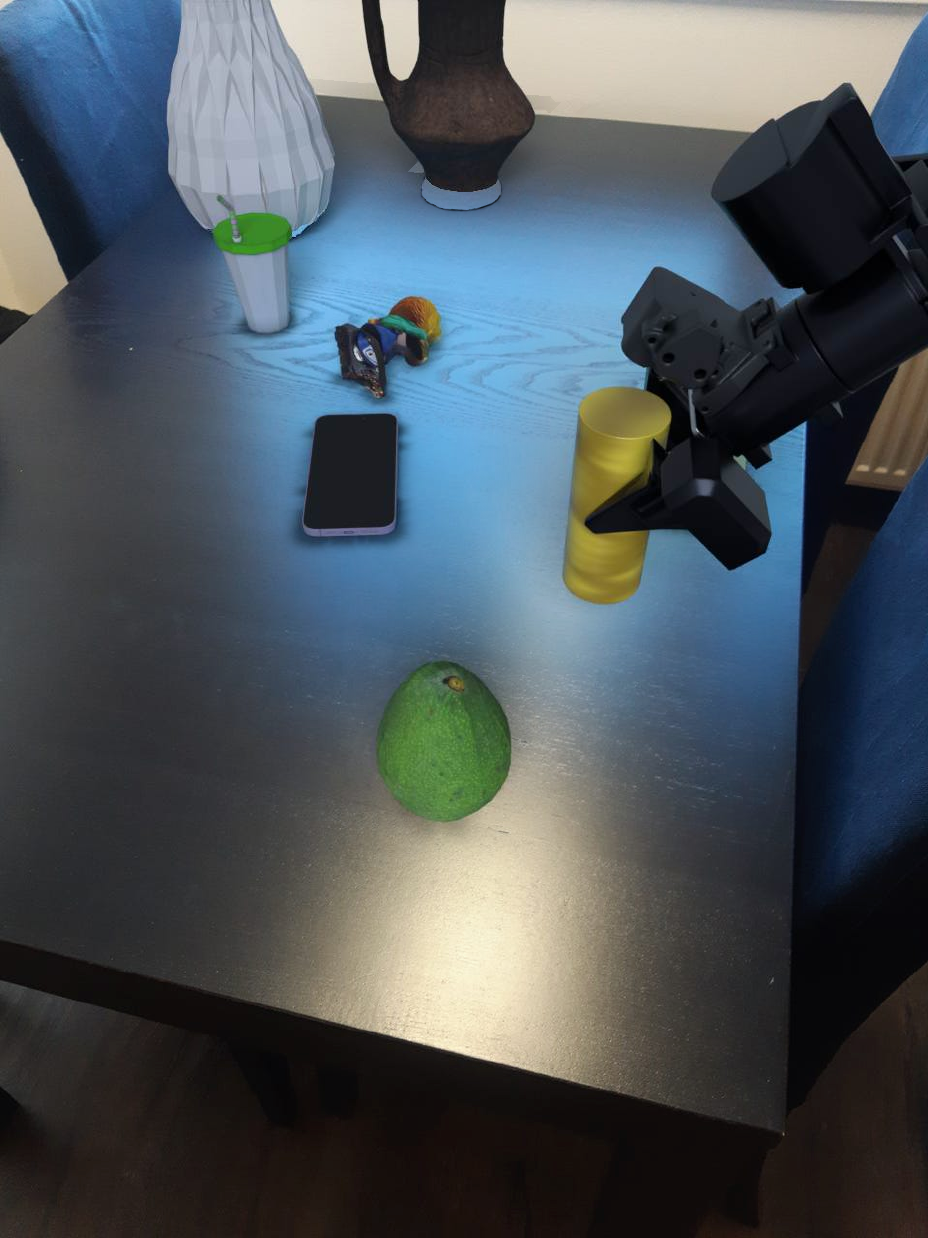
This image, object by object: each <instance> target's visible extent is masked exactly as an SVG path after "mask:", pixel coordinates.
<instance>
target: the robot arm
mask: <svg viewBox="0 0 928 1238" xmlns="http://www.w3.org/2000/svg"><path fill="white" fill-rule="evenodd" d="M715 177H716V178H715V179H714V181H713V183H712V187H711V192H710V195H711V198H712V200H713V201H714V202H715V203H716V206H718V208H719V209H720V210H721V211H722V213H723V214H724V215H725V217H726V218H727V219H728V220H729V222H730V223H731V224H732V226H733V227H734V228H735V230H736V231H737V232H738V233H739V234H740V236H741V237H742V239H743V240H744V241H745V243H746V244H747V245H748V246H749V248H750V250H751V251H752V252H753V253H754V254H755V256H756V257H757V258H758V259H759V261H760V262H761V264H762V265H763V266H764V267H765V269H766V270H767V271H768V272H769V274H770V275H771V276H772V278H773V279H774V280H775V282H776V283H777V284H778V285H779V286H780V287H781V288H784V289H787V290H793V289H795V290H796V289H802V290H803V293H801V294H800V295H798V296H797V297H796V298H794V299H792V300H791V301H789V302H788V303H786V304H785V305H784V306H783V307H781V306H780V305H779V303H778V302H777V301H776V299H775V298H774V297H773V296H770V297H769V298H767V299H765V298H760V299H757V300H756V301H755V302H754V303H752V304H751V305H749V306H748V307H746V308H744V309H742V310H741V311H740V310H739V309H737V308H736V307H734V306H733V305H730V304H729V303H728V302H726V301H724V299H722V298H721V297H720V296H718V295H717V294H715V293H713V292H712V291H709V290H708V289H705V288H704V287H702V286H700V285H698V284H697V283H694V282H692V281H690V280H689V279H688V278H685V277H683V276H681V275H679V274H677V273H676V272H673V271H672V270H670V269H668V268H665V267H662V266H658V265H657V266H654V267H653V268H652V270H651V271H650V272H649V274H648V275H647V278H646V279H645V280H644V281H643V283H642V284H641V286H640V288H639V289H638V291H637V292H636V294H635V296H634V297H633V298H632V300H631V302H630V303H629V305H628V306H627V308H626V309H625V311H624V312H623V314H622V316H621V317H620V323H621V325H622V339H621V341H620V348H621V351H622V353H623V355H624V356H625V357H626V358H627V359H628V360H630V362H632V363H634V364H635V365H637V366H639V367H641V368H644V369H646V370H645V376H644V384H643V389H642V390H645V391H648V392H650V393H653V394H655V395H656V396H658V397H660V398H661V399H662V400H663V401H664V402H665V403H666V404H667V405H668V407H669V408H670V411H671V416H672V417H671V423H670V428H669V434H668V439H667V444H666V450H665V449H664V448H663V447H662V446H661V445H660V444H659V443H658V442H657V441H656V440H655V439H654V438H653V439H652V441H651V444H650V449H649V455H648V460H647V465H646V468H645V470H644V471H643V472H641V473H640V474H639V475H638V476H636V477H635V478H634V479H633V480H631V481H630V482H629V483H628V484H626V485H625V486H624V487H622V488H621V489H620V490H619V491H617V492H616V493H615V494H614V495H612V496H611V497H610V498H609V499H607V500H606V501H605V502H604V503H602V504H601V505H600V506H599V507H598V508H596V509H595V510H594V511H593V512H592V513H591V514H590V515H589V516H588V517H587V518H586V519H585V521H584V525H585V526H586V527H587V528H588V529H589V530H590V531H591V532H592V533H594V534H605V533H618V532H632V531H646V530H650V531H661V530H663V531H664V530H665V531H666V530H673V531H675V530H677V531H680V530H681V531H688V532H689V533H690V534H691V535H692V536H693V537H694V538H695V539H696V540H697V541H698V542H699V543H700V544H701V545H702V546H703V547H704V548H705V549H706V550H707V551H708V552H709V553H710V554H711V555H712V556H713V557H714V558H715V559H716V560H717V561H718V562H719V563H720V564H721V565H722V566H723V567H724V568H725V569H726V570H727V571H728V572H730V571H731V572H732V571H734V570H736V569H738V568H740V567H742V566H744V565H747V564H748V563H749V562H751V561H754V560H756V559H757V558H759V557H761V556H764V554H767V551H768V547H769V545H770V541H771V538H772V535H773V532H772V528H771V526H772V525H771V520H770V515H769V508H768V502H767V497H766V493H765V490H764V489H763V488H762V487H761V486H760V485H759V484H758V483H757V482H756V480H754V478H753V477H752V476H751V475H750V473H748V472H747V471H745V470H744V469H743V468H742V467H741V465H740V464H739V463H738V462H737V461H736V460H735V459H734V456H735V457H737V458H738V457H739V456H741V455H743V456H744V457H745V458H746V461H747V462H748V463H749V464H750V465H751V467H753V468H754V469H755V470H756V471H757V470H759V469H760V468H762V467H764V466H765V465H767V464H769V463H770V462H772V461H773V456H772V451H771V446H770V444H771V443H773V442H774V441H776V440H778V439H779V438H781V437H783V436H784V435H787V434H788V433H789V432H791V431H793V430H795V429H796V428H798V427H799V426H801V425H803V424H805V423H806V422H808V421H809V420H811V419H812V418H814V417H815V419H816V420H817V421H818V422H819V423H820V424H821V425H822V427H823V428H824V429H828V428H830V427H831V426H833V425H835V424H837V423H838V422H840V421H841V420H843V419H844V415H843V413H842V408H841V406H840V403H839V402H841V401H842V400H844V399H846V398H847V397H849V396H851V395H852V394H854V393H855V392H858V391H859V390H861V389H863V388H864V387H866V386H868V385H869V384H871V383H872V382H874V381H876V380H878V379H879V378H881V377H882V376H884V375H886V374H887V373H889V372H891V371H893V370H894V369H895V368H897V367H899V366H900V365H902V364H904V363H905V362H908V361H909V360H911V359H912V358H914V357H915V356H917V355H919V354H921V353H922V352H924V351H925V350H927V349H928V152H924V153H923V152H922V153H914V154H913V153H912V154H904V155H897V156H896V155H895V156H894V155H893V156H891V155H890V154H889V152H888V150H887V149H886V147H885V146H884V144H883V143H882V141H881V139H880V138H879V136H878V134H877V132H876V130H875V125H874V122H873V119H872V117H871V115H870V113H869V111H868V109H867V107H866V105H865V104H864V102H863V101H862V98H861V97H860V96H859V94H858V92H857V91H856V88H854V86H853V84H852V83H851V82H842V83H841V84H840V85H839V86H838V87H836V88H835V89H834V90H833V91H832V92H830V93H829V94H828V95H827V96H825V97H824V98H823V99H818V100H812V101H809V102H807V103H803V104H800V105H799V106H797V107H795V108H793V109H790V111H787V112H786V113H785V114H783V115H782V116H780V117H778V118H777V119H775V118H773V117H771V118H770V119H768V120H767V121H766V122H765V123H763V124H762V125H761V126H760V127H759V128H757V129H756V130H755V131H754V132H753V133H752V134H750V136H748V137H747V138H746V139H745V140H744V141H743V143H741V144H740V145H739V147H738V148H737V149H736V150H735V151H733V153H732V154H731V156H730V157H729V158H728V159H727V161H725V163H724V164H723V166H722V167H721V169H720V171H719V172H718V173H717V175H716V176H715ZM905 230H910V232H911V235H912V236H913V238H914V239H915V241H916V243H917V244H918V246H919V248H916V249H915V248H914V249H910V250H908V249H907V248H906V247H905V245H904V244H903V243H902V241H901V240H900V238H899V237H898V236H897V235H898V234H899V233H901V232H902V231H905ZM669 452H670V453H669ZM733 455H734V456H733Z"/></svg>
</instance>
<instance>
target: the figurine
mask: <svg viewBox="0 0 928 1238" xmlns="http://www.w3.org/2000/svg"><path fill="white" fill-rule="evenodd" d="M441 322H442V318H441V314H440V313H439V311H438V310H437V307H436V305H435V304H434V303H433V301H431V300H429V299H427V298H425V297H423V296H413V295H412V296H411V295H409V296H406V297H404V298H402V299H400V300H399V301H397V302H396V303H395V304H394V306H392V307H391V309H390V310H389V313H388V314H387V315H386V316H382V317H377V318H374V317H373V318H372V317H371V318H368V320H367V322H365V323H364V324H362V325H361V326H360V327H357V326H356V325H354V324H351V323H344V324H341V325H337V326H335V327H334V329H335V331H334V333H333V334H334V340H335V342H336V347H337V348H338V349H337V355H338V356H339V364H340V371H341V375H342V376H343V377H342V381H344V380H348V381H349V380H350V381H355V382H357V383H358V384H359V385H360V386H362V387H364V388H365V389H367V390H369V391H370V392H372V394H373V396H374V397H375V398H377V399H381V398H384V397H385V396H386V392H385V387H386V385H387V374H386V373H387V372H386V366H388V365H390V364H391V362H392V360H394V358H395V357H396V356H397V357H398V356H399V357H400V356H403V358H404V361H405V362H406V364H407V365H409V366H410V367H413V368H414V367H419V366H421V365H424V364H425V363H426V362H427V361H428V359H429V350H430V349H429V347H431V346H433V344H437V343H438V342H439V341H440V340H441V339H442V337H443V332H442V328H441Z"/></svg>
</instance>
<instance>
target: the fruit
mask: <svg viewBox="0 0 928 1238" xmlns="http://www.w3.org/2000/svg"><path fill="white" fill-rule="evenodd" d="M375 738H376V739H375V745H376V746H375V749H376V750H375V754H376V761H377V762H376V763H377V767H378V773H379V775H380V777H381V778H382V781H383V782H384V784H385V786H386V788H387V789H388V791H389V793H390V794H391V796H392V797H393V799H394V800H395V801H396V802H398V804H399V805H400V806H401V807H403V808H404V809H405V810H406V811H408V812H410V813H412V814H414V815H416V816H418V817H420V818H422V819H424V820H427V821H433V822H440V823H447V822H448V823H449V822H455V821H459V820H462V819H464V818H466V817H468V816H470V815H472V814H475V813H476V812H479V811H481V810H482V808H484V807H485V806H487V805H488V804H489V803H491V802H492V801H493V800H494V798H495V797H496V795H497V794H498V793H499V792H500V790H501V789H502V788H503V785H504V783H506V780H507V778H508V776H509V771H510V769H511V765H512V734H511V729H510V725H509V720H508V717H507V715H506V713H505V711H504V709H503V707H502V705H501V703H500V701H499V700H498V699H497V697H495V695H494V694H493V692H492V691H491V690H490V689H489V687H488V686H487V685H486V684H485V682H484V681H483V680H482V679H481V678H480V677H478V675H476V674H475V673H474V672H473V671H470V670H469V669H467V668H465V667H464V666H462V665H461V664H459V663H458V662H454V661H449V660H436V661H430V662H424V663H423V664H421V665H420V666H418V667H416V668H415V669H414V670H412V671H411V672H410V673H409V674H408V675H407V677H405V679H404V680H403V681H402V682H401V683H400V685H399V686H398V687H397V689H395V691H394V692H393V693H392V695H391V697H390V698H389V699H388V702H387V704H386V706H385V707H384V710H383V713H382V716H381V718H380V721H379V724H378V728H377V733H376V737H375Z"/></svg>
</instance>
